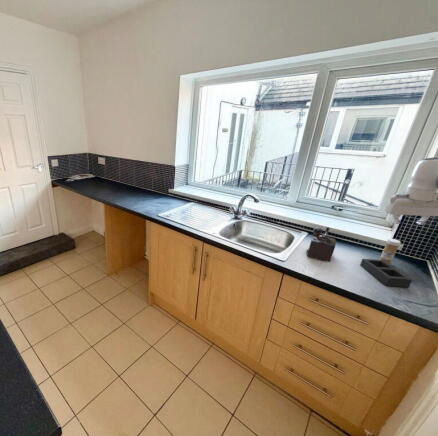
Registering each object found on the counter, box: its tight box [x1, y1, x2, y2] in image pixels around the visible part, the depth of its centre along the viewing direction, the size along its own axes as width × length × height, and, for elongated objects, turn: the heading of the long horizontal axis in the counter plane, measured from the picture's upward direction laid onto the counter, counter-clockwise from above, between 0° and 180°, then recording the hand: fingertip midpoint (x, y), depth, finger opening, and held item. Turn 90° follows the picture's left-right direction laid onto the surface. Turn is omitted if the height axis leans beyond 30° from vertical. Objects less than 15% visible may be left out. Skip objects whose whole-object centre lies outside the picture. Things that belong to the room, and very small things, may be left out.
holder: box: [359, 258, 413, 288], centre depth 112 cm, size 9×16×4 cm, turn 173°
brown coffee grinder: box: [306, 226, 337, 263], centre depth 125 cm, size 16×11×18 cm
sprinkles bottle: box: [378, 238, 402, 265], centre depth 120 cm, size 5×5×13 cm
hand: (407, 223), depth 112 cm, fingers open, 8 cm apart
